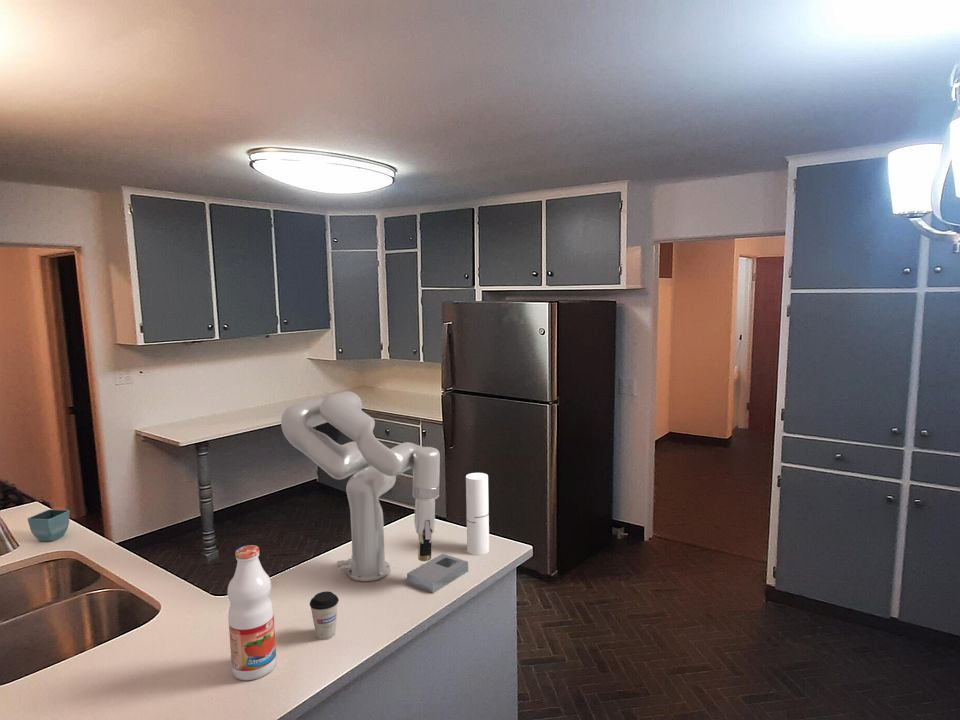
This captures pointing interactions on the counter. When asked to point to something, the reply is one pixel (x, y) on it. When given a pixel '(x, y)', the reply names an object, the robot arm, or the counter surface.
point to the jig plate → (437, 573)
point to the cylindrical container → (477, 513)
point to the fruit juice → (251, 617)
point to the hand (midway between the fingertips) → (424, 551)
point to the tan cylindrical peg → (421, 558)
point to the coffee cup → (324, 614)
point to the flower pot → (49, 524)
